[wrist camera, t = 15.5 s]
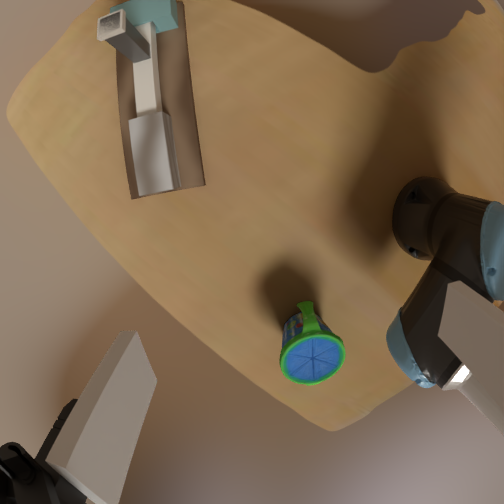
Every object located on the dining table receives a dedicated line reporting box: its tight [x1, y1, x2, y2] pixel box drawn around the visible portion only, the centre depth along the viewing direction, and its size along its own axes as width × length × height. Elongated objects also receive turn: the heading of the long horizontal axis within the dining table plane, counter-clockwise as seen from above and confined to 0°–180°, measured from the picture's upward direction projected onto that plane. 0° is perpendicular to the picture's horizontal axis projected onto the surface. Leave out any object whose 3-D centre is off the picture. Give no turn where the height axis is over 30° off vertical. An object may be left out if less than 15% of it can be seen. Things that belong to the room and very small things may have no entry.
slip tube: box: [97, 9, 162, 118], centre depth 27 cm, size 3×22×14 cm, turn 7°
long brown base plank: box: [116, 2, 206, 199], centre depth 34 cm, size 12×34×6 cm, turn 8°
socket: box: [110, 0, 178, 33], centre depth 29 cm, size 10×6×5 cm, turn 98°
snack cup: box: [280, 301, 345, 386], centre depth 45 cm, size 16×10×10 cm
